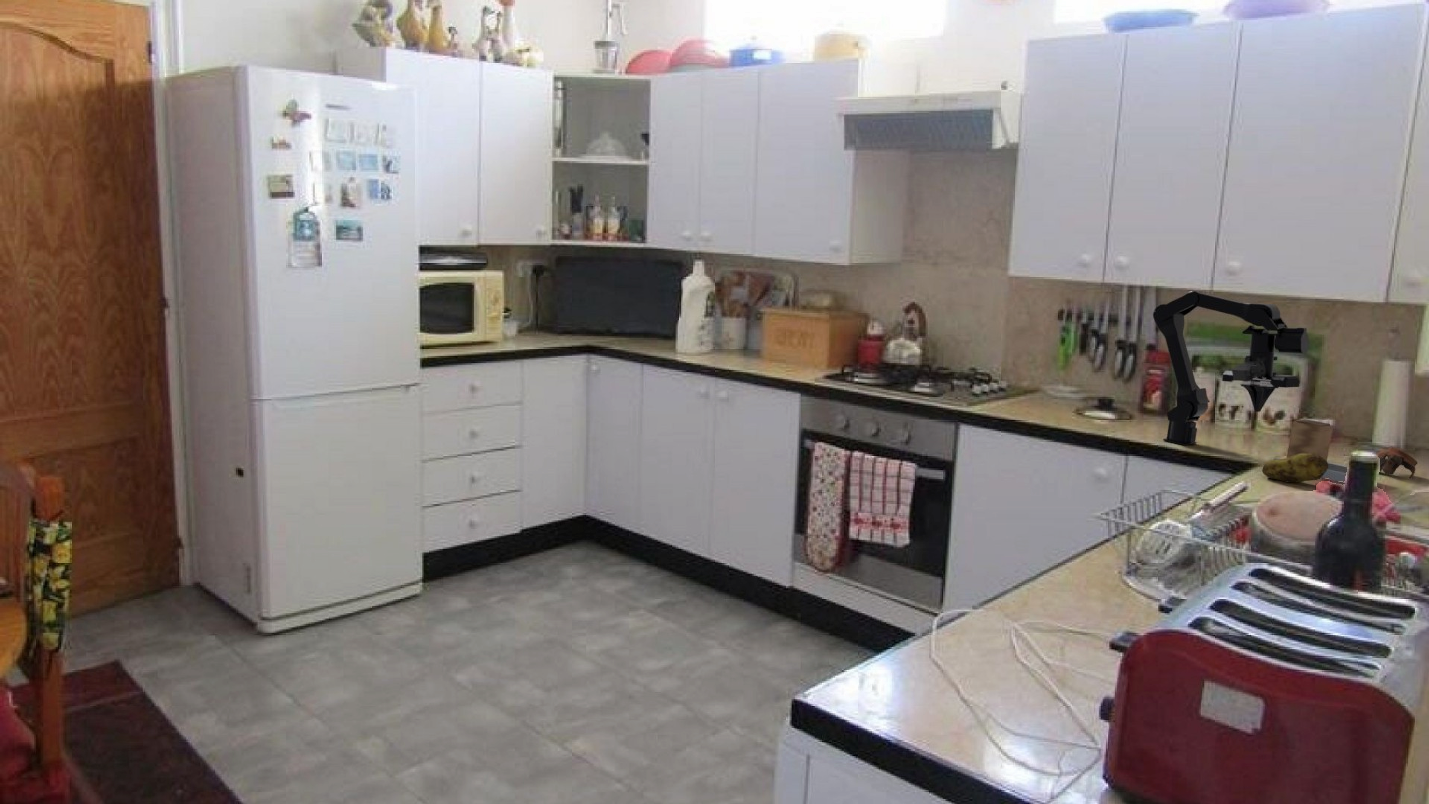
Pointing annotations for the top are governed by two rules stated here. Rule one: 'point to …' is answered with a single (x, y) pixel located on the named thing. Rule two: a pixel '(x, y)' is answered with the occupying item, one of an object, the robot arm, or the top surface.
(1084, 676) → the top surface
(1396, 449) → the brown irregular pronged part
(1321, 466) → the potato
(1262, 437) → the top surface
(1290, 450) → the crate
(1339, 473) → the blue-gray angular pronged part
